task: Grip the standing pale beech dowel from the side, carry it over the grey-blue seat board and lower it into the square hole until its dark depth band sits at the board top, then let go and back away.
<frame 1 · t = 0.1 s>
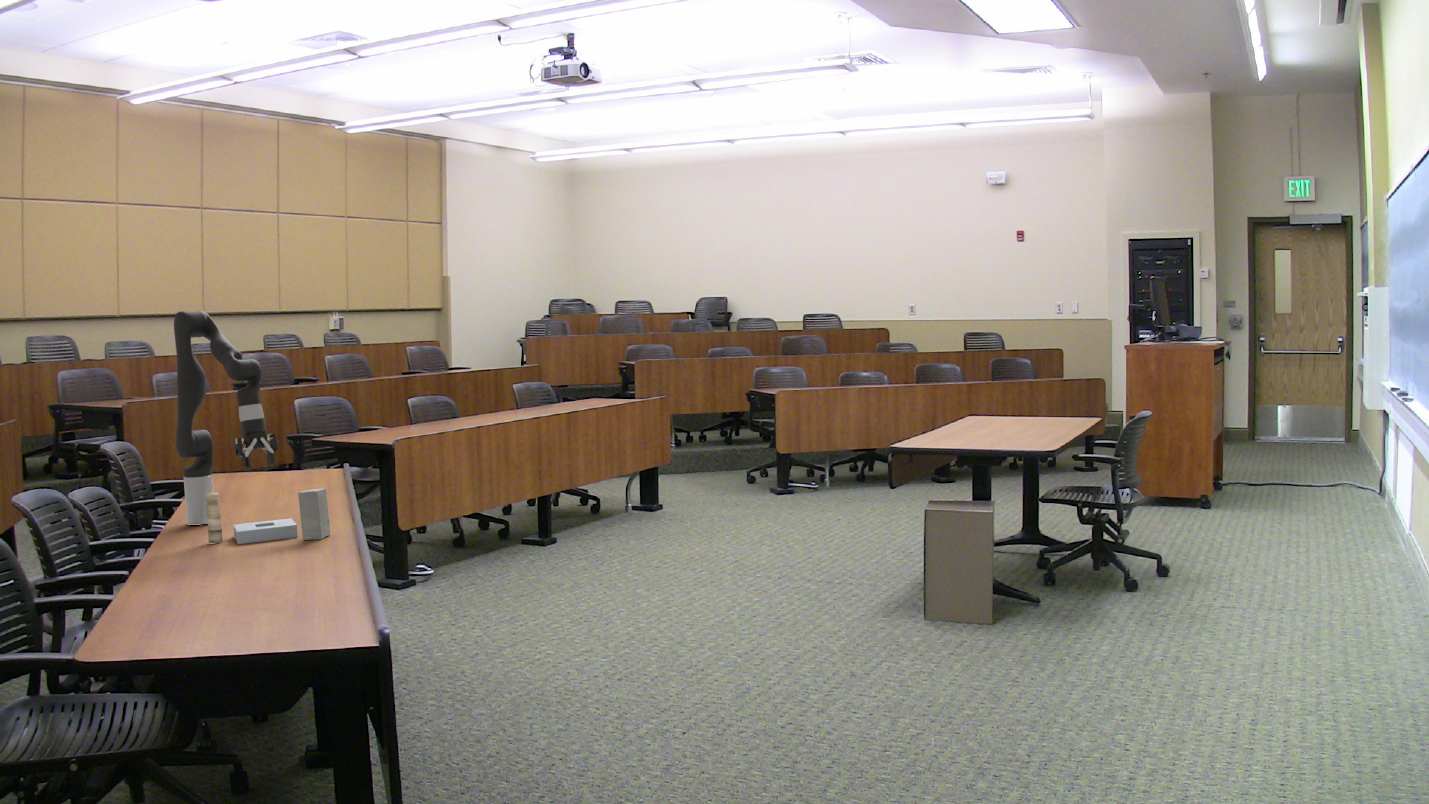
hand: (259, 466, 361), 22 cm above the table, tool pointing down, fingers open, 8 cm apart
dowel: (215, 542, 348), on the table
skincare box: (316, 538, 351), on the table
seat board: (265, 536, 355), on the table
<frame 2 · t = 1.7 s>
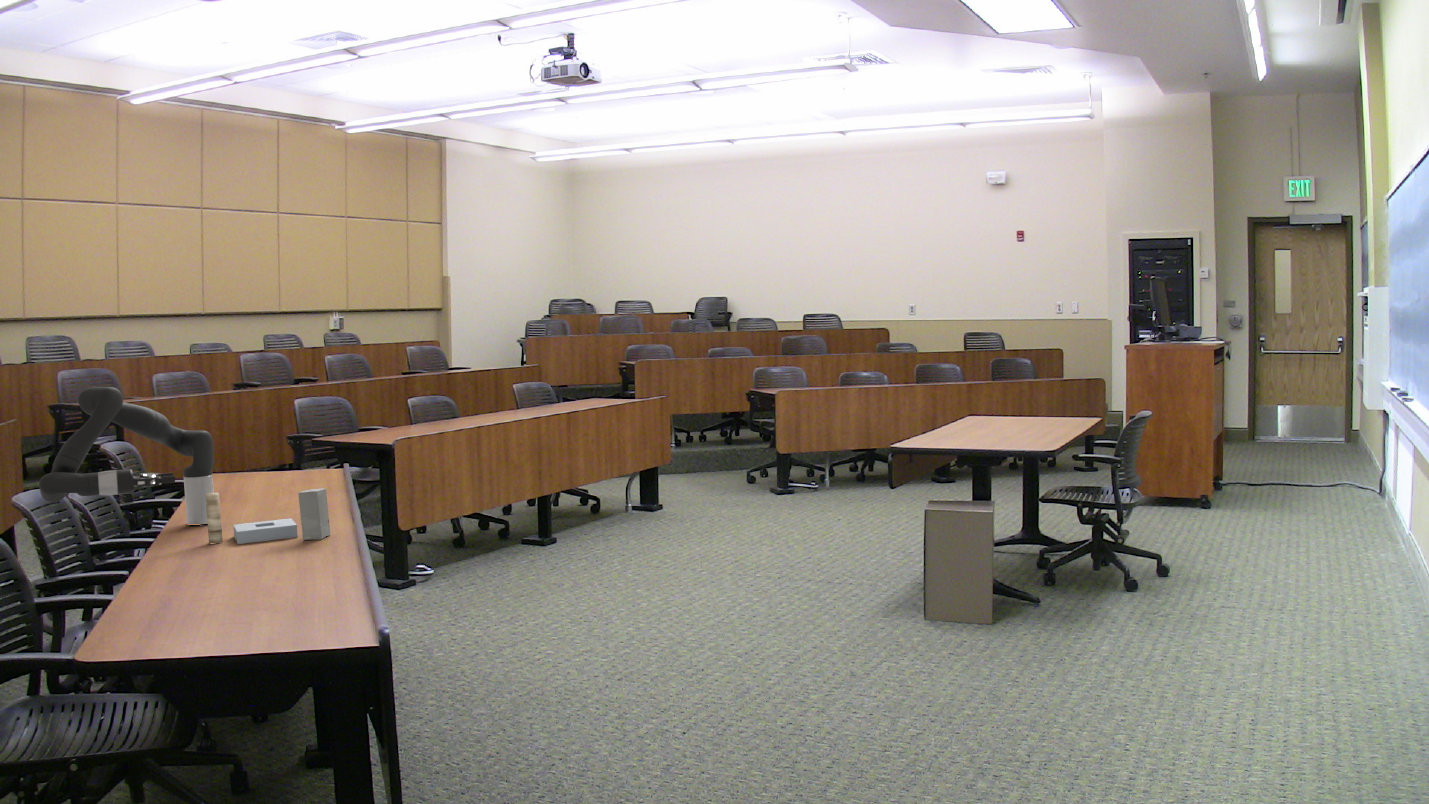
hand: (174, 477, 341), 22 cm above the table, tool horizontal, fingers open, 8 cm apart
nothing on the table moved.
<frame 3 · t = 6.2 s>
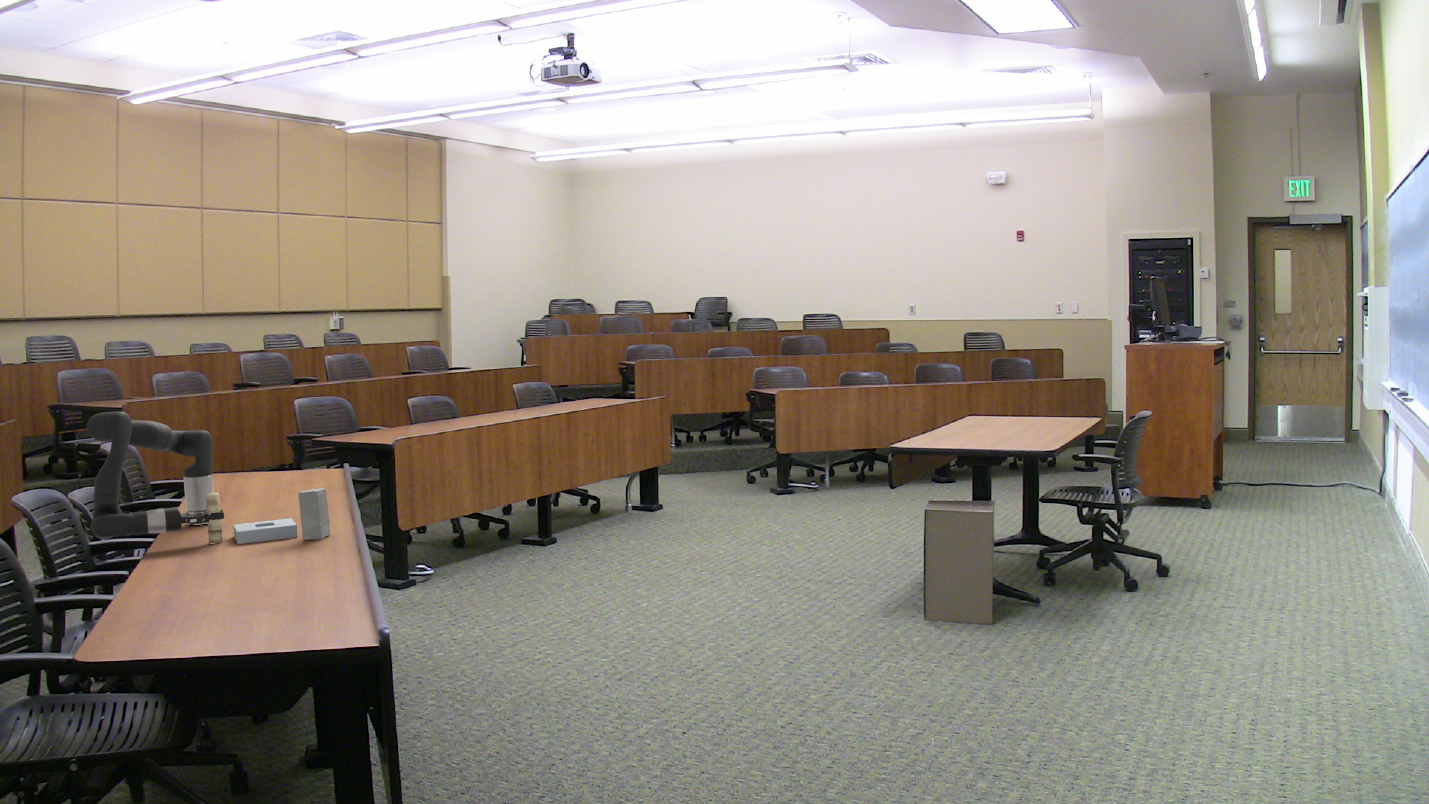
hand: (223, 514, 348), 9 cm above the table, tool horizontal, fingers closed on dowel, 4 cm apart
dowel: (215, 542, 348), on the table, touching gripper
everything else where it was.
when the fingers open (10 cm above the table, at t = 12.3 s): dowel drops 1 cm, resting in seat board.
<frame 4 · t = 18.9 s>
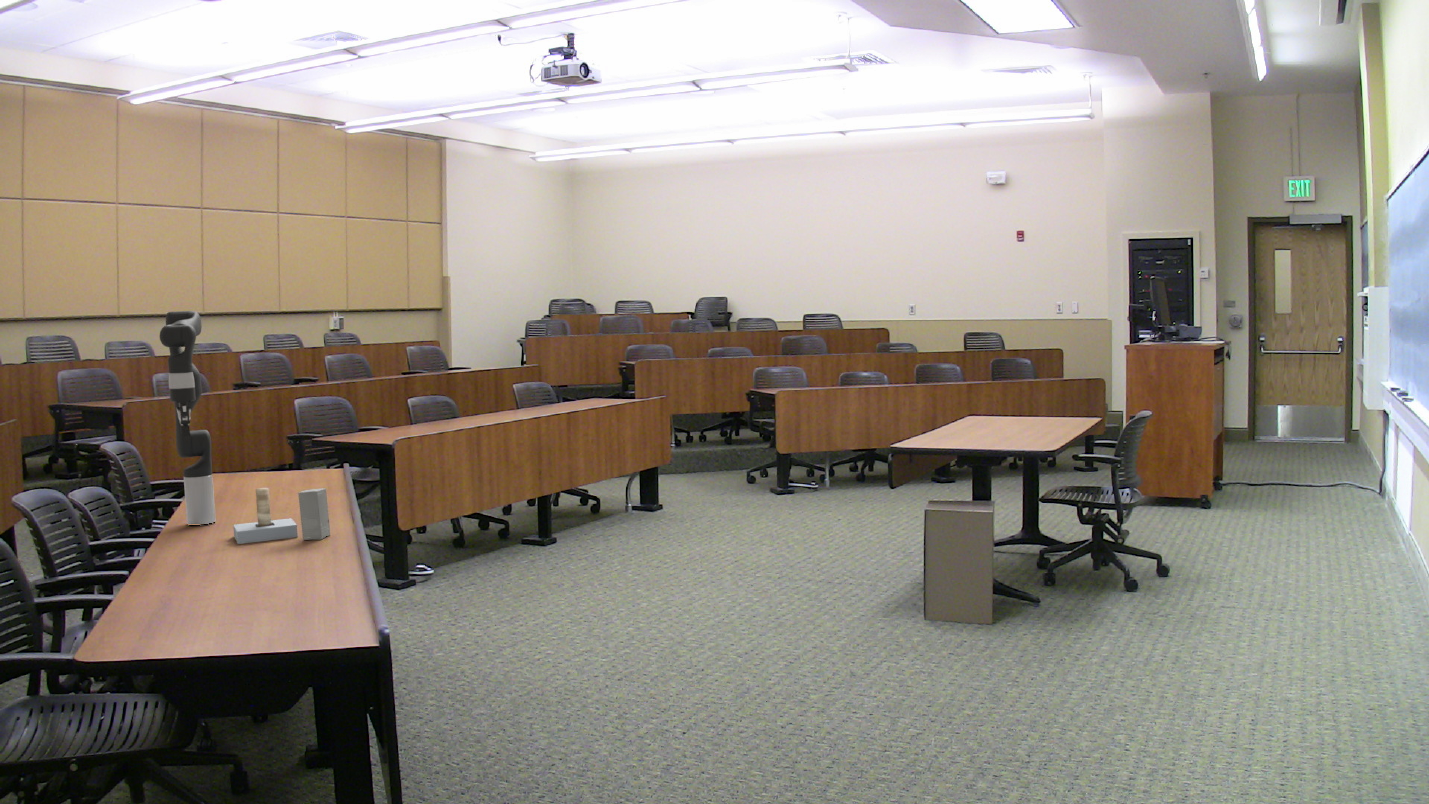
hand: (185, 436, 353), 34 cm above the table, tool pointing down, fingers open, 8 cm apart
dowel: (265, 536, 355), resting in seat board
everything else where it was.
at the end: dowel 0.1 cm off-centre on the seat board, point 0.0 cm above the seat board's base; dowel tilted 0°; the gripper is holding nothing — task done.
